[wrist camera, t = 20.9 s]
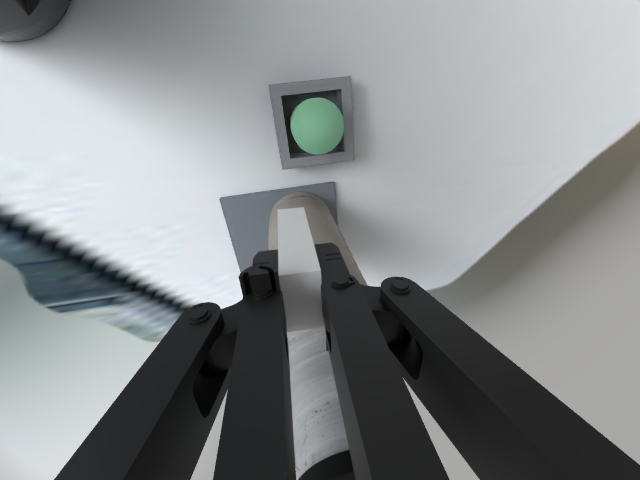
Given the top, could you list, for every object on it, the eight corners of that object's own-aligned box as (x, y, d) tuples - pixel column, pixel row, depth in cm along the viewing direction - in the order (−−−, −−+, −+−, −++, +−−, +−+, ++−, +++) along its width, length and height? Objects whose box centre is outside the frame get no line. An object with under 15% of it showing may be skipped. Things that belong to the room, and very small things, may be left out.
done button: (293, 151, 30) (295, 157, 26) (286, 100, 28) (287, 100, 24) (337, 145, 30) (345, 151, 27) (333, 95, 28) (342, 94, 24)
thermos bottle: (337, 198, 34) (500, 444, 9) (322, 252, 37) (414, 540, 13) (275, 185, 32) (274, 453, 8) (264, 243, 36) (240, 562, 11)
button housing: (281, 163, 32) (282, 169, 29) (269, 86, 28) (268, 85, 25) (347, 155, 32) (354, 159, 30) (343, 78, 29) (350, 76, 26)
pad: (246, 288, 39) (246, 291, 39) (220, 197, 33) (219, 199, 32) (340, 272, 40) (341, 275, 40) (333, 181, 34) (334, 182, 33)
